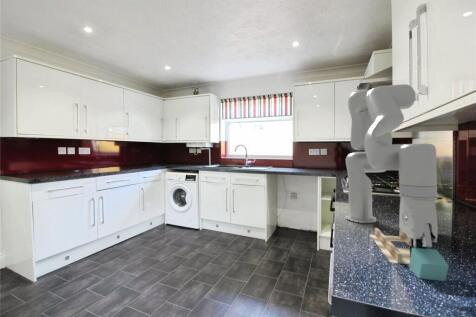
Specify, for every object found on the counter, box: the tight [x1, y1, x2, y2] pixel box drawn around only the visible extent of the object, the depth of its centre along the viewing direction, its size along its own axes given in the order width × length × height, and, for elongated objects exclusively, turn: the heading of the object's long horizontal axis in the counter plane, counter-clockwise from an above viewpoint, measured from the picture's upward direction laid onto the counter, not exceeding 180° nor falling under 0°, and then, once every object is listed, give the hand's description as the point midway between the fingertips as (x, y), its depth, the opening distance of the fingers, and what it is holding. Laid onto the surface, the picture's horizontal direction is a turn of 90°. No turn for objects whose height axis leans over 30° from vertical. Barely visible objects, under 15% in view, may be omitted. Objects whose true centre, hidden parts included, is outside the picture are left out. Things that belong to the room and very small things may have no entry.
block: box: [408, 248, 449, 282], centre depth 53 cm, size 6×5×5 cm
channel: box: [369, 227, 411, 265], centre depth 69 cm, size 22×12×4 cm, turn 162°
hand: (418, 262), depth 57 cm, fingers closed
